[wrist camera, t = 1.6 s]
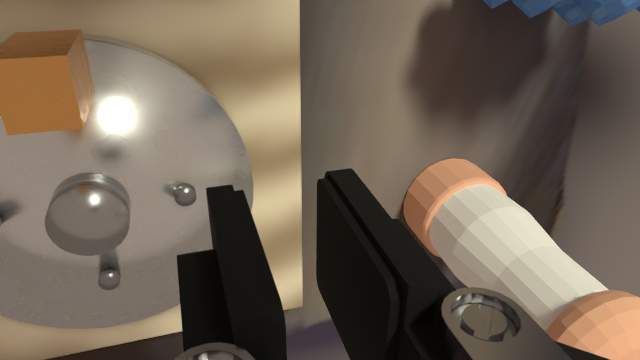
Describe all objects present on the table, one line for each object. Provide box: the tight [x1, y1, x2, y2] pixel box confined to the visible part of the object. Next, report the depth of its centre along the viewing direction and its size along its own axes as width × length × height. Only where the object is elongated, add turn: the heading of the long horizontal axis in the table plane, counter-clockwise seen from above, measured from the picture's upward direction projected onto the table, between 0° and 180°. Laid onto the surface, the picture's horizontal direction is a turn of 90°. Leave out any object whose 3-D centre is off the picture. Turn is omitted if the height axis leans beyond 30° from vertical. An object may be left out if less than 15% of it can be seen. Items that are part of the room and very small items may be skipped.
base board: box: [0, 0, 303, 360], centre depth 28 cm, size 25×25×6 cm
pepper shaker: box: [403, 158, 640, 360], centre depth 32 cm, size 7×7×19 cm
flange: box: [0, 29, 253, 329], centre depth 26 cm, size 18×18×6 cm
